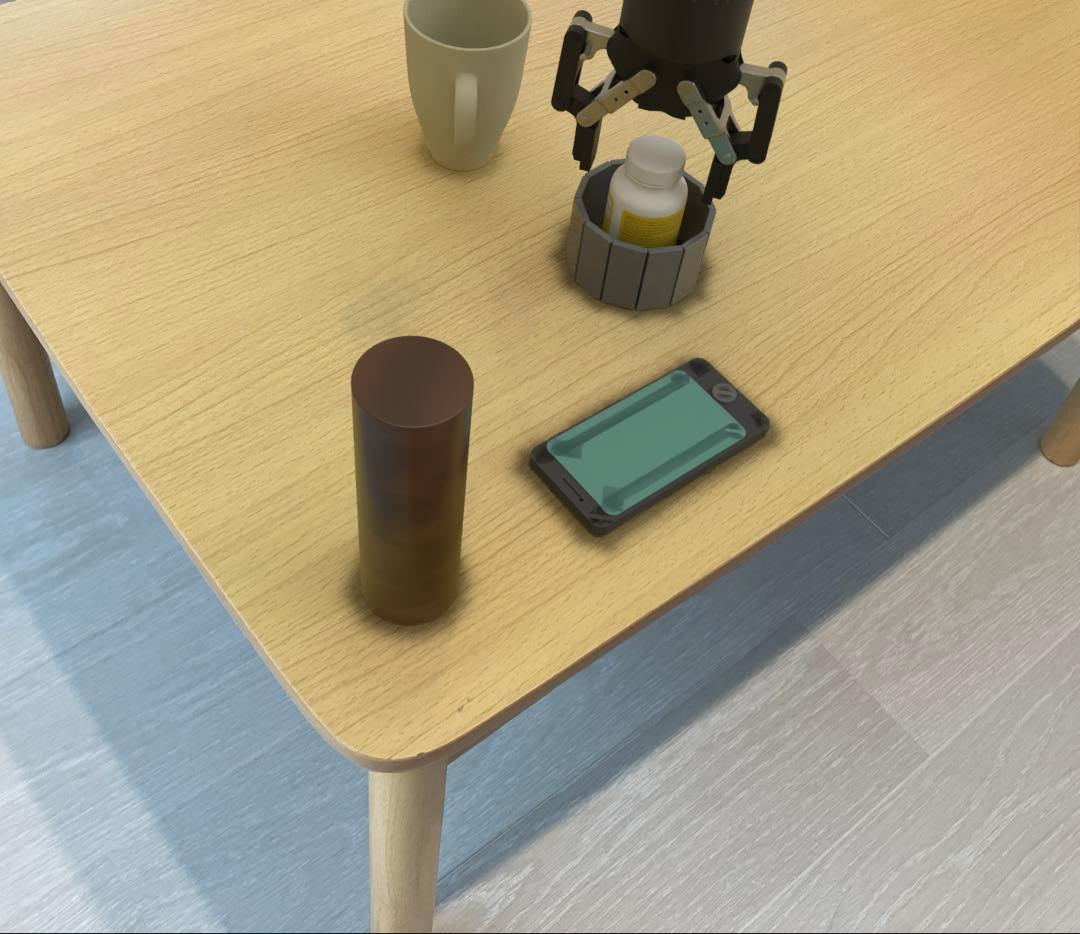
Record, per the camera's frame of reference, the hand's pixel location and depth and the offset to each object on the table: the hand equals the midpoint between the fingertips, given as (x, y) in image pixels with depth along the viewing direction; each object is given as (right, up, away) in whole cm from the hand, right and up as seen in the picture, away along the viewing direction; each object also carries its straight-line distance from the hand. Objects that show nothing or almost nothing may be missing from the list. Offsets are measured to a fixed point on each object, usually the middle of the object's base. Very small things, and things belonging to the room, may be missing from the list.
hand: (647, 180), depth 80 cm
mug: (-13, +4, +11) cm, 18 cm away
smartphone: (0, -18, -4) cm, 19 cm away
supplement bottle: (-1, -5, +6) cm, 8 cm away
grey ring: (-1, -4, +6) cm, 8 cm away
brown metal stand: (-15, -26, -12) cm, 32 cm away
